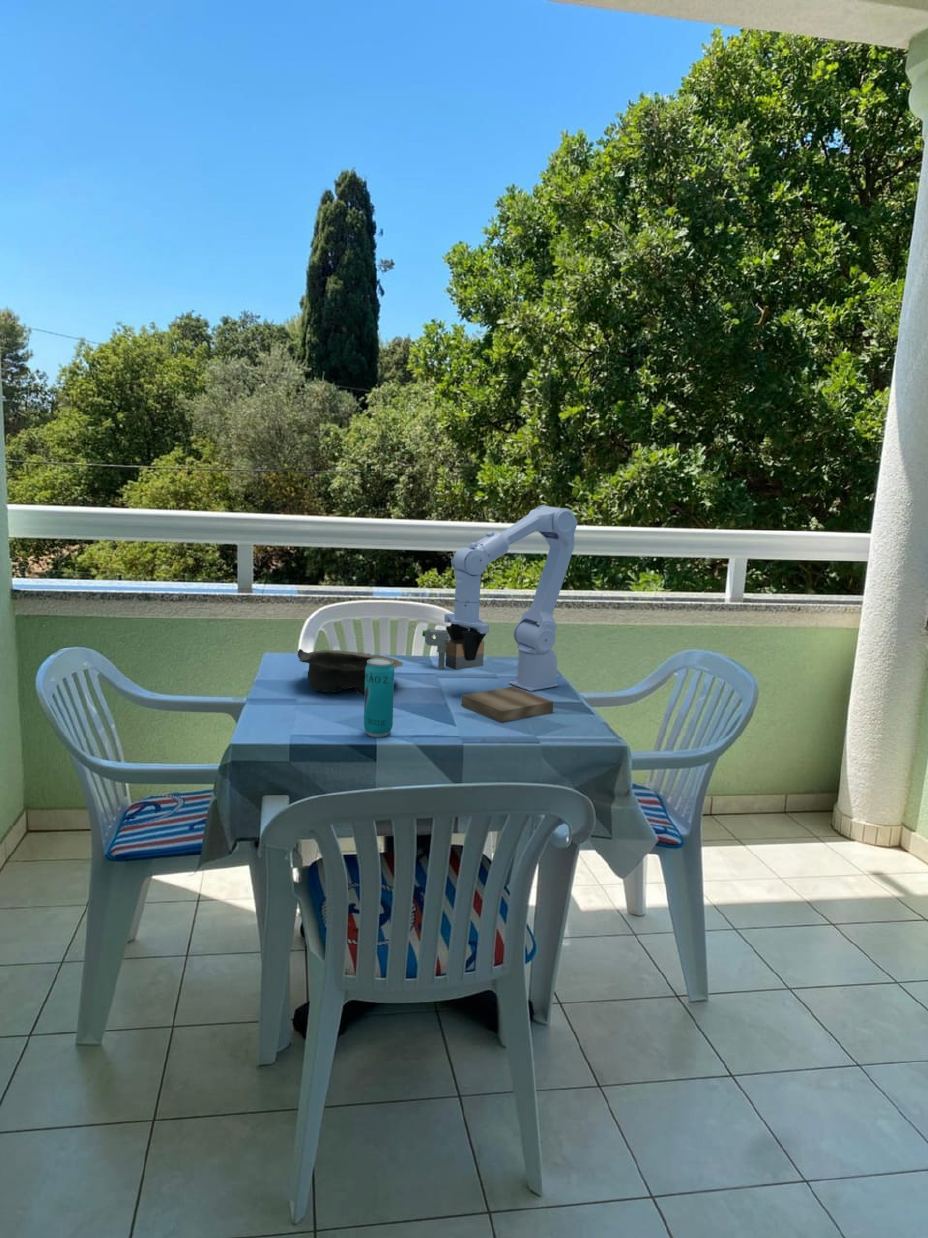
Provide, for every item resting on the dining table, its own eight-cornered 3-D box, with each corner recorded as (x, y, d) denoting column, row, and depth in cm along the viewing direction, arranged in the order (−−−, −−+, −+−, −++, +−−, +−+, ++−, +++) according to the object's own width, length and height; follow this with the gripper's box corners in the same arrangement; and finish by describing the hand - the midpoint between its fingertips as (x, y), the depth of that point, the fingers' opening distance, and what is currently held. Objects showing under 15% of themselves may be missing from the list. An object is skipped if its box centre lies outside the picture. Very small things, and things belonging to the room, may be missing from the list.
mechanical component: (459, 671, 234) (460, 634, 232) (420, 668, 236) (421, 630, 234) (461, 669, 237) (463, 631, 235) (423, 665, 238) (424, 628, 236)
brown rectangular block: (472, 662, 216) (473, 637, 215) (483, 665, 213) (484, 640, 211) (445, 666, 211) (446, 640, 210) (455, 670, 208) (456, 644, 207)
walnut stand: (512, 696, 213) (512, 686, 213) (552, 712, 203) (553, 701, 202) (461, 705, 204) (461, 695, 204) (501, 722, 193) (501, 711, 193)
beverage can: (364, 728, 185) (365, 657, 182) (392, 729, 186) (394, 658, 183) (363, 738, 180) (365, 664, 177) (392, 738, 180) (394, 665, 177)
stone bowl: (289, 699, 203) (290, 658, 202) (305, 678, 228) (305, 641, 227) (400, 701, 204) (401, 660, 203) (404, 680, 229) (404, 643, 228)
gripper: (434, 596, 212) (432, 653, 215) (472, 607, 201) (470, 666, 203) (459, 594, 216) (456, 650, 219) (497, 604, 205) (494, 663, 208)
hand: (464, 658), depth 211 cm, fingers closed on brown rectangular block, 4 cm apart
